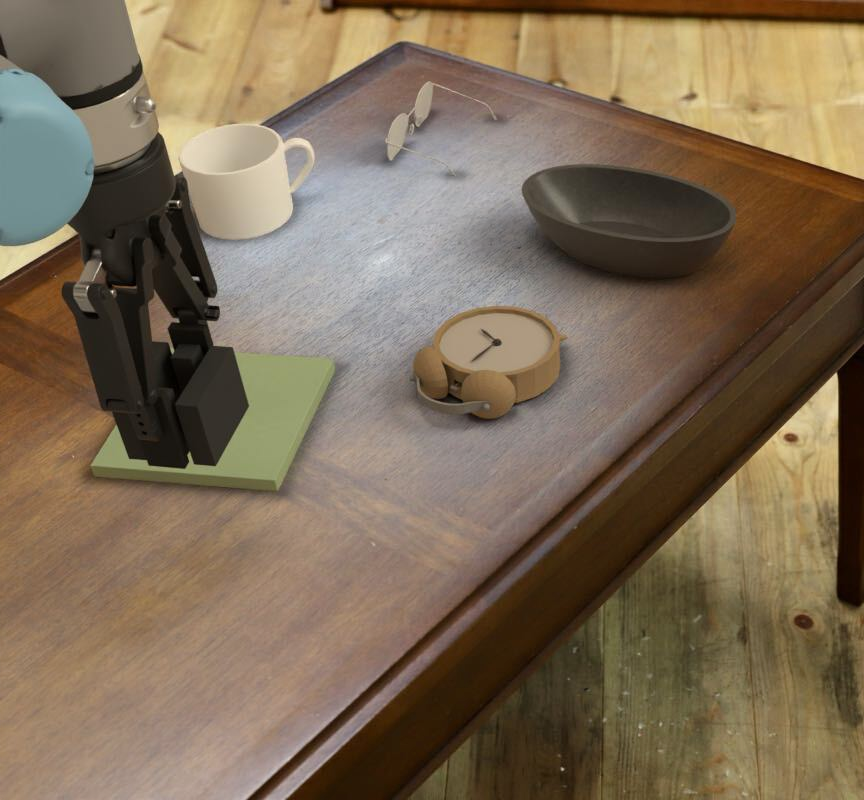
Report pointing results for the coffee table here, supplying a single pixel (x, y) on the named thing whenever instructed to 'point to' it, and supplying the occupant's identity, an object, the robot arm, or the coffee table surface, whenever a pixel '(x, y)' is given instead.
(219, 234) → the mug
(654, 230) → the bowl
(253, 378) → the sage mat
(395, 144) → the sunglasses
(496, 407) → the alarm clock
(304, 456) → the coffee table surface
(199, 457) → the black slotted block
